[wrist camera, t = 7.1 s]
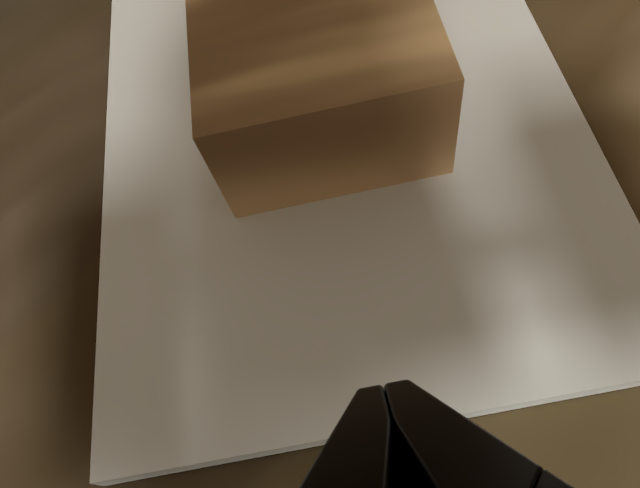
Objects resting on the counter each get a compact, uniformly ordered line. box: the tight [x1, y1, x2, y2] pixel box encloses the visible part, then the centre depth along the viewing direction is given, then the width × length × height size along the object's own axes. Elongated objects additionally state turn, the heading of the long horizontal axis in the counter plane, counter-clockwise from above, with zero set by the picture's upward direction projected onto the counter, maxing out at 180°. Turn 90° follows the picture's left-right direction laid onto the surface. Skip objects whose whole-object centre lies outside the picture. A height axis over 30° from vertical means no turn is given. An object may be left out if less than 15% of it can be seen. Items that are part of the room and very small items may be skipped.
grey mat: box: [90, 0, 640, 486], centre depth 19 cm, size 22×16×1 cm
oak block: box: [185, 0, 465, 218], centre depth 18 cm, size 4×7×12 cm
